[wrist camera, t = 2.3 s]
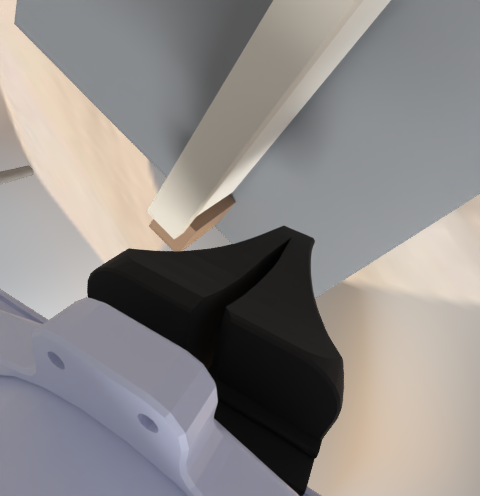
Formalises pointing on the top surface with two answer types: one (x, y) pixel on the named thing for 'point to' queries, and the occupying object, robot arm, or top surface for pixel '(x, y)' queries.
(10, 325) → the robot arm
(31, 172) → the citrus juicer
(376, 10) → the gate
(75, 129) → the top surface
